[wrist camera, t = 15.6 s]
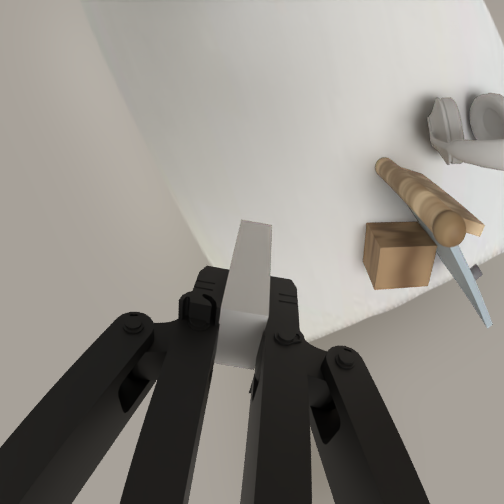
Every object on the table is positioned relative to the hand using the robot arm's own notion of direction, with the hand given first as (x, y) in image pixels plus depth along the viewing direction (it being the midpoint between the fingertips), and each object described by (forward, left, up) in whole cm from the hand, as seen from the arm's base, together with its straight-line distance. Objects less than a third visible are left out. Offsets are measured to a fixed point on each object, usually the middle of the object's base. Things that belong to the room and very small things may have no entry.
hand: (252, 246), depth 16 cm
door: (+28, -1, -30) cm, 41 cm away
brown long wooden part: (+20, +3, -30) cm, 36 cm away
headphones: (+25, +15, -31) cm, 42 cm away
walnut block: (+24, -8, -31) cm, 40 cm away
